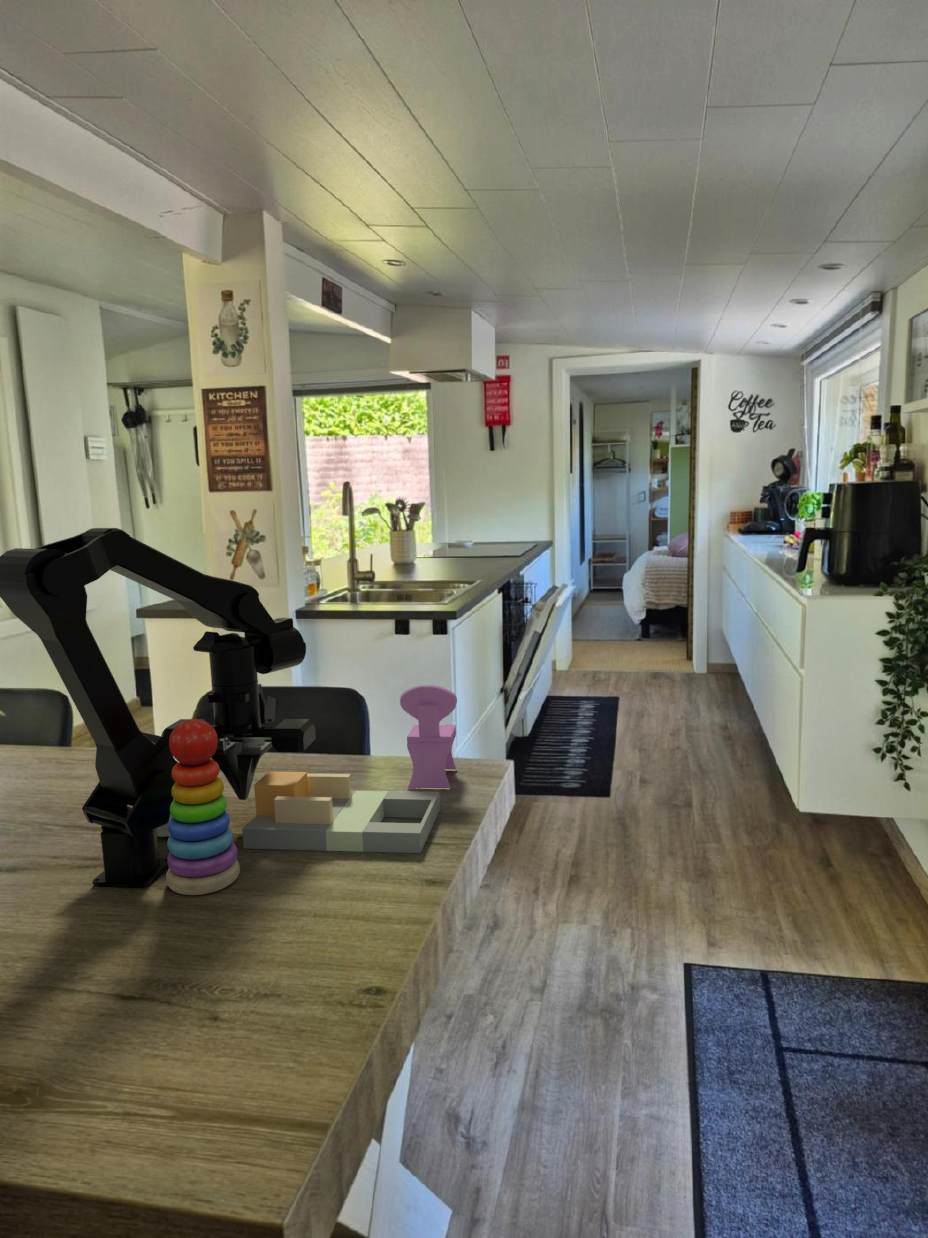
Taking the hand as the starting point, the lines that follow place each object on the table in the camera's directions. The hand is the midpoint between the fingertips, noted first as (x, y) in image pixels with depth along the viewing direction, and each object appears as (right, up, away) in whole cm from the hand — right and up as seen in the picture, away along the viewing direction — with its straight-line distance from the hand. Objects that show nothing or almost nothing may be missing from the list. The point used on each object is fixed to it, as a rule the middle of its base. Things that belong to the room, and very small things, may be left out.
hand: (243, 799), depth 112 cm
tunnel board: (+14, -3, -2) cm, 14 cm away
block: (+5, -1, -1) cm, 5 cm away
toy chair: (+24, -1, +16) cm, 29 cm away
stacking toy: (0, -6, -15) cm, 17 cm away
